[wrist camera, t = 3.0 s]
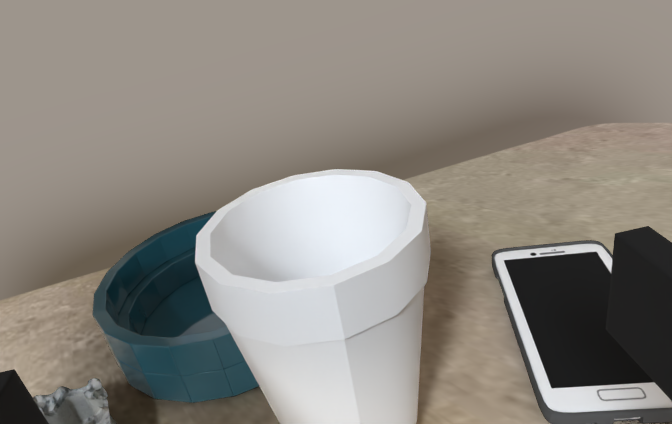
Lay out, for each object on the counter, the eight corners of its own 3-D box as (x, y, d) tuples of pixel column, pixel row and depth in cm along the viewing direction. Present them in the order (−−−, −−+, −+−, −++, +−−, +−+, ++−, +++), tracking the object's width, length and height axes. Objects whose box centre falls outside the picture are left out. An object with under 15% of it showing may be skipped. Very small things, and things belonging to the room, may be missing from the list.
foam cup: (389, 343, 32) (359, 152, 26) (487, 456, 25) (478, 223, 19) (246, 411, 29) (174, 215, 23) (306, 563, 22) (224, 331, 16)
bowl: (86, 428, 30) (50, 366, 28) (154, 275, 44) (133, 225, 42) (347, 385, 30) (333, 319, 28) (333, 244, 44) (323, 192, 41)
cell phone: (545, 431, 25) (546, 418, 25) (488, 260, 38) (488, 248, 37) (718, 423, 24) (722, 409, 24) (600, 249, 37) (600, 237, 36)
